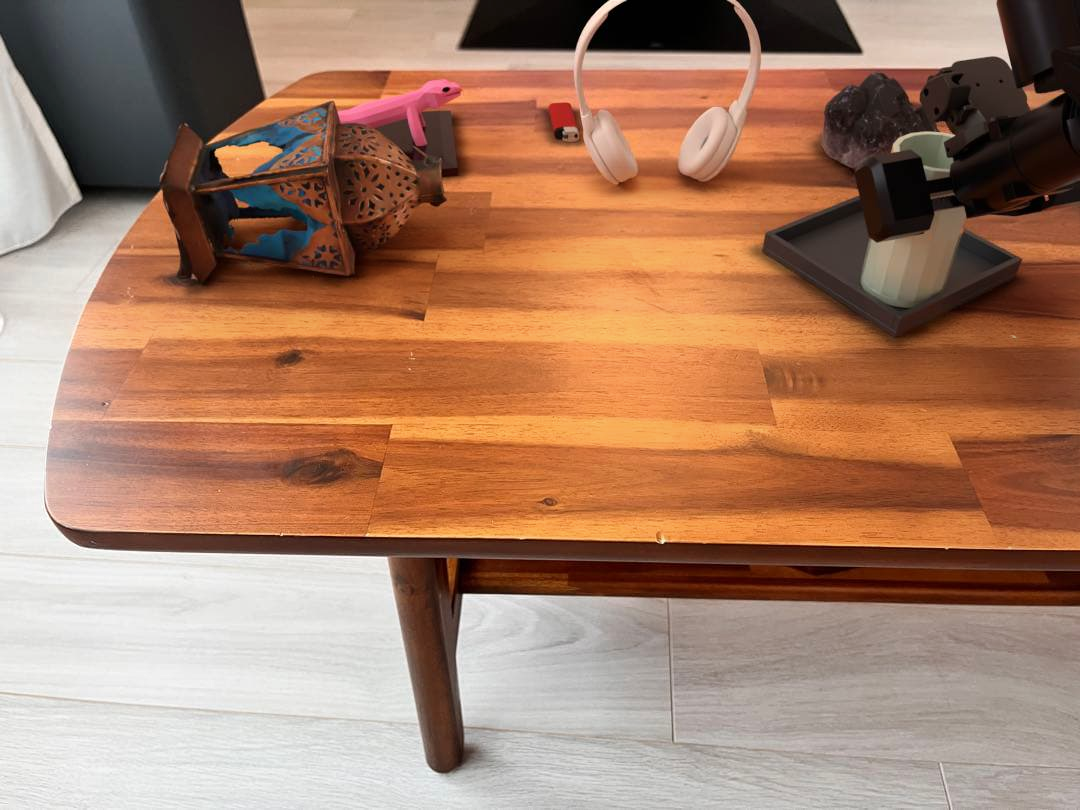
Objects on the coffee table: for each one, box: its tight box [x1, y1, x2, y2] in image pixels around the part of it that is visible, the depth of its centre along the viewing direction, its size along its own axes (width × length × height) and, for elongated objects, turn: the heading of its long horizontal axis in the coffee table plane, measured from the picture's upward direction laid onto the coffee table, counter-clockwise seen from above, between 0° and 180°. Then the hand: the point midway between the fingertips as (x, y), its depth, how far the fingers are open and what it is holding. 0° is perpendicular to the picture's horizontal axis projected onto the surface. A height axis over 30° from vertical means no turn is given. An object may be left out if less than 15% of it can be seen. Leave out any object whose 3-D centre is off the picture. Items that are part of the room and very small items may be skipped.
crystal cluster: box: [821, 71, 941, 171], centre depth 98 cm, size 13×14×10 cm
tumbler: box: [860, 131, 968, 308], centre depth 76 cm, size 7×7×13 cm
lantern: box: [159, 100, 448, 285], centre depth 83 cm, size 16×16×25 cm
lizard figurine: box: [337, 78, 464, 177], centre depth 100 cm, size 15×20×7 cm
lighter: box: [548, 101, 580, 143], centre depth 106 cm, size 3×1×8 cm
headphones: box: [573, 0, 762, 185], centre depth 90 cm, size 7×18×20 cm, turn 93°
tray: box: [761, 195, 1023, 339], centre depth 84 cm, size 16×16×2 cm
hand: (909, 212), depth 77 cm, fingers closed on tumbler, 7 cm apart
